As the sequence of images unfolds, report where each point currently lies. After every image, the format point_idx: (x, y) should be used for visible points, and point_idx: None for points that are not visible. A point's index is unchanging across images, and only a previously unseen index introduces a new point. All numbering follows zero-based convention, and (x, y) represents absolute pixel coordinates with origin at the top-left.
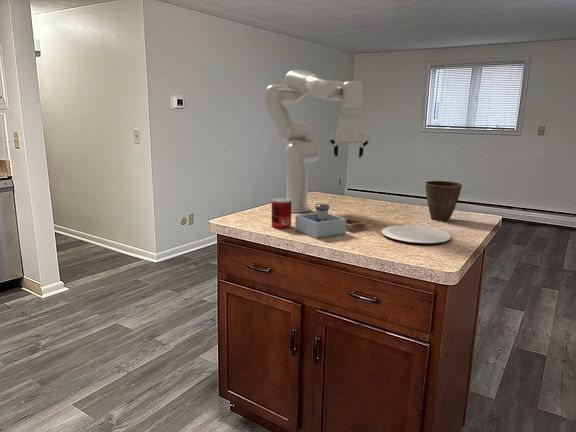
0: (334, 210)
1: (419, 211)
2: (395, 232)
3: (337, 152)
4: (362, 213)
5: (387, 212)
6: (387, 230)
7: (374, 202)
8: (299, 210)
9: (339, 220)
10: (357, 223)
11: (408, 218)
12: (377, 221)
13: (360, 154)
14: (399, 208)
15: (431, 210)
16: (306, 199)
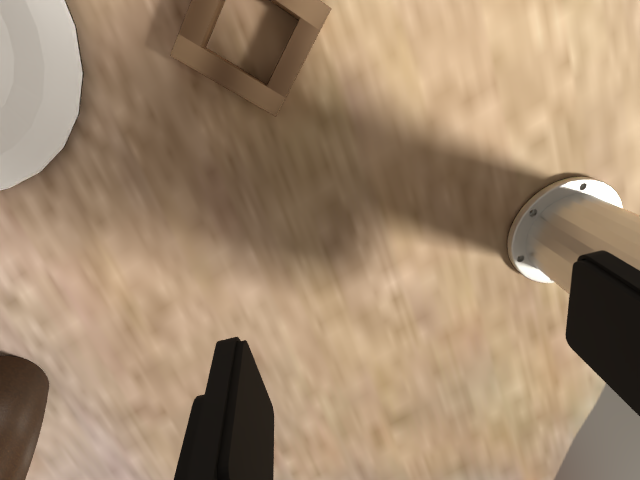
0: (416, 304)
1: (138, 442)
2: (10, 35)
3: (608, 332)
4: (303, 316)
5: None
6: (34, 7)
7: (324, 471)
8: (546, 193)
9: None
10: (201, 9)
11: (118, 334)
12: (198, 224)
13: (213, 371)
14: None
15: (10, 381)
16: (551, 260)
